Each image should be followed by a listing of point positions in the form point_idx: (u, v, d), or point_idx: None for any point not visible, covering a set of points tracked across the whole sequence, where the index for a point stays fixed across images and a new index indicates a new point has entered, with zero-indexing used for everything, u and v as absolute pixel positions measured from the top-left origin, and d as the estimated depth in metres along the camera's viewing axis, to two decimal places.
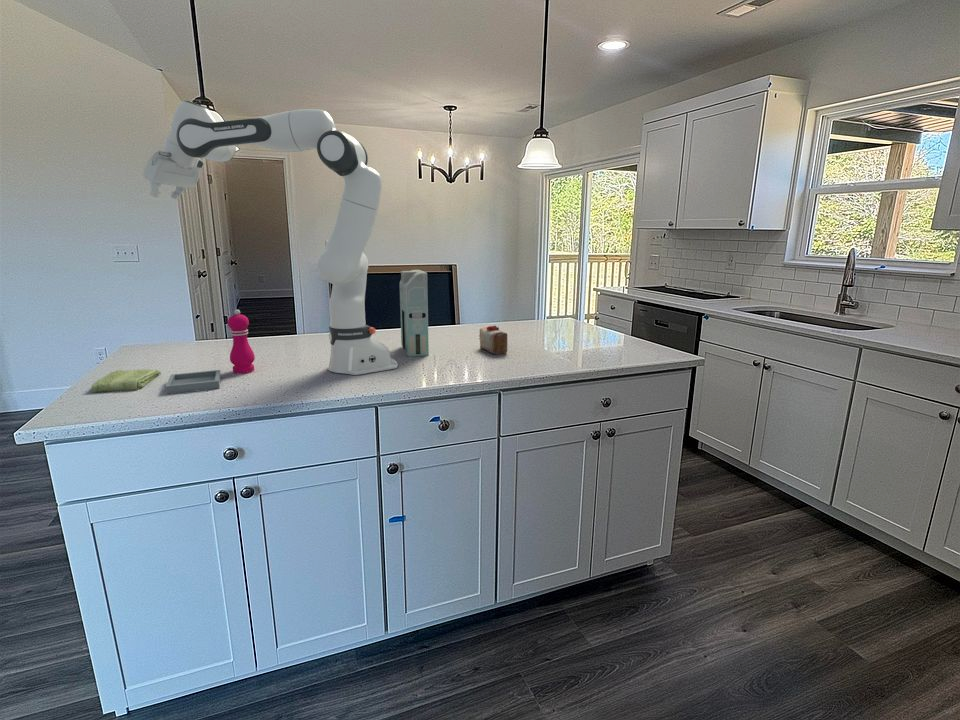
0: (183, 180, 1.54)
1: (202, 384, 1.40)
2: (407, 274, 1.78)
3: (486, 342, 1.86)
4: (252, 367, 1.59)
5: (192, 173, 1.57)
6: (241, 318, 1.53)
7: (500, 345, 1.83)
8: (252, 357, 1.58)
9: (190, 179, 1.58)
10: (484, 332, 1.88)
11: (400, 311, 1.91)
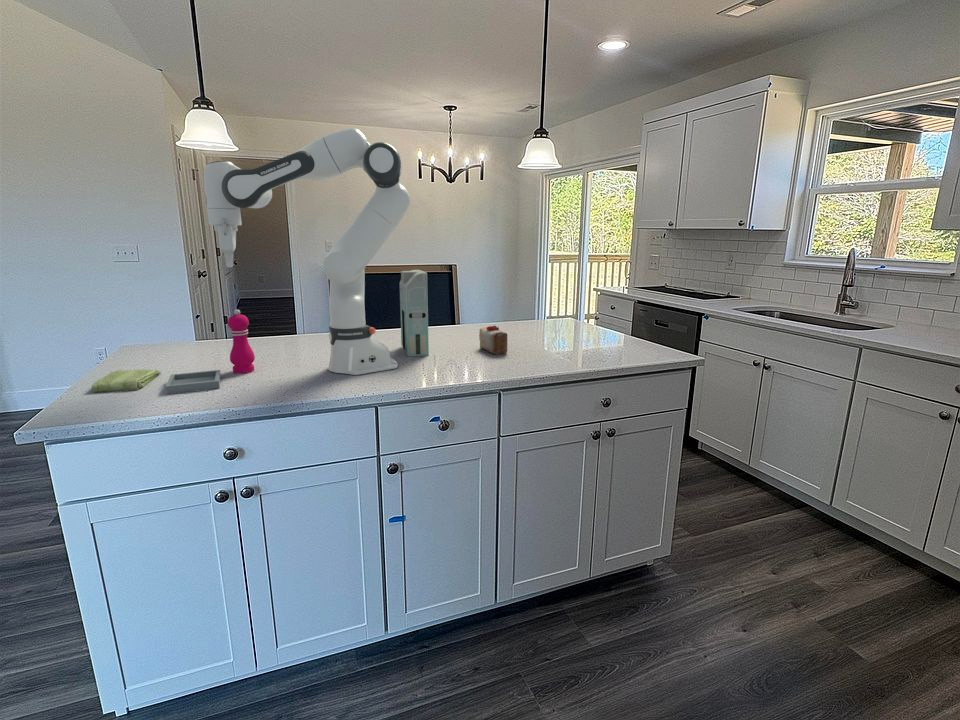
0: (234, 242, 1.53)
1: (202, 384, 1.40)
2: (407, 274, 1.78)
3: (486, 342, 1.86)
4: (252, 367, 1.59)
5: (232, 234, 1.55)
6: (241, 318, 1.53)
7: (500, 345, 1.83)
8: (252, 357, 1.58)
9: (234, 240, 1.55)
10: (484, 332, 1.88)
11: (400, 311, 1.91)
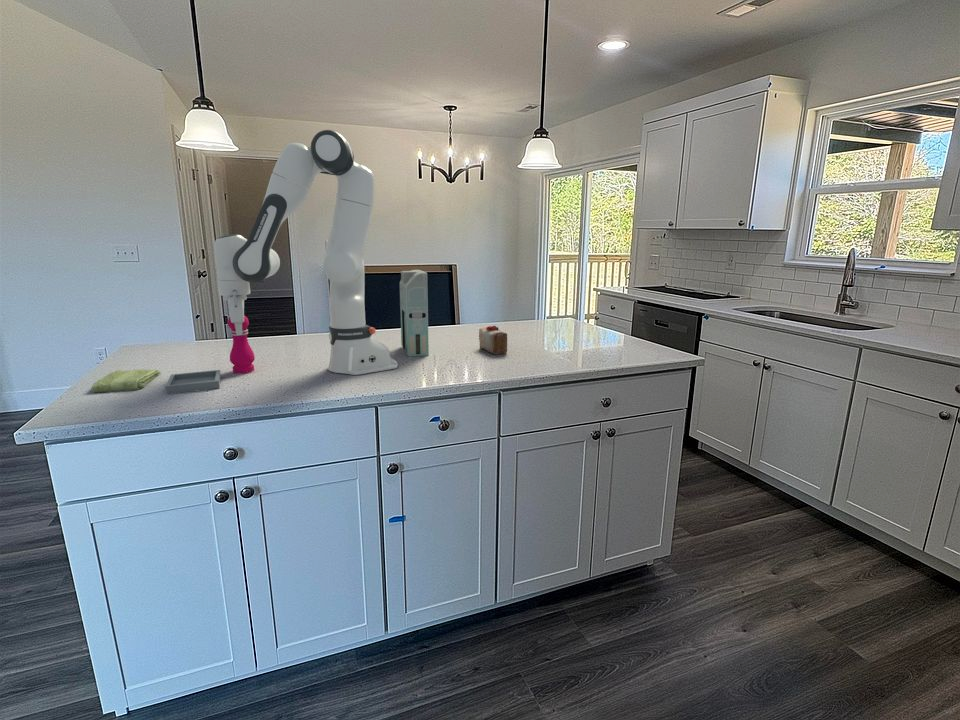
0: (243, 309, 1.58)
1: (202, 384, 1.40)
2: (407, 274, 1.78)
3: (486, 342, 1.86)
4: (252, 367, 1.59)
5: None
6: None
7: (500, 345, 1.83)
8: (252, 357, 1.58)
9: None
10: (484, 332, 1.88)
11: (400, 311, 1.91)
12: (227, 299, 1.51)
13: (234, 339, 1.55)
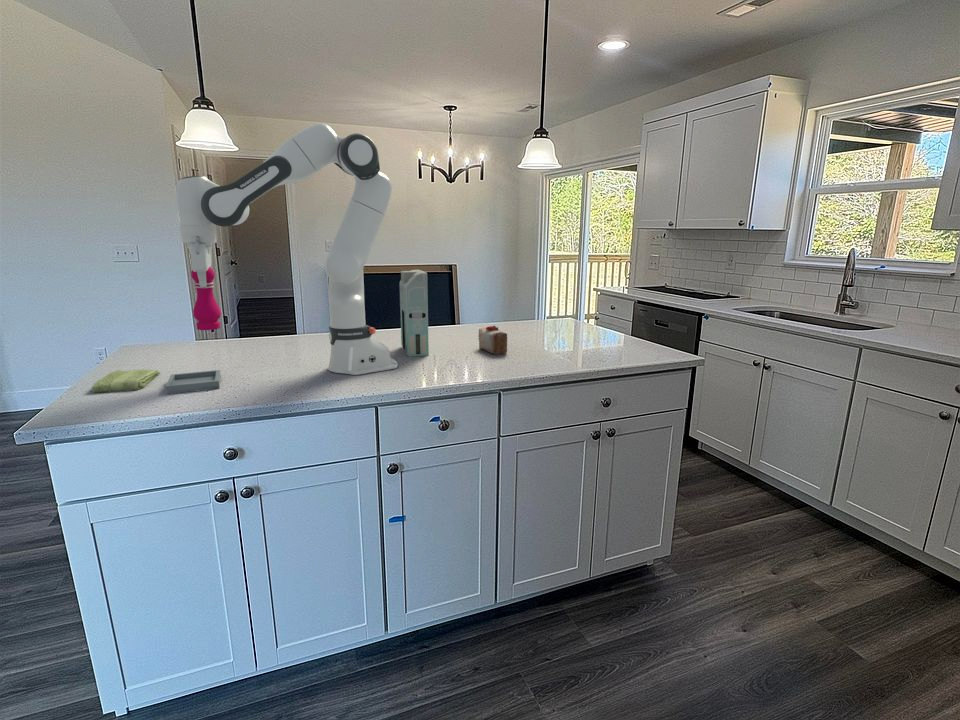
0: (209, 260, 1.45)
1: (202, 384, 1.40)
2: (407, 274, 1.78)
3: (486, 342, 1.86)
4: (218, 324, 1.46)
5: (208, 251, 1.48)
6: None
7: (500, 346, 1.83)
8: (218, 313, 1.45)
9: (209, 257, 1.48)
10: (483, 332, 1.88)
11: (400, 311, 1.91)
12: (190, 247, 1.38)
13: (198, 292, 1.43)
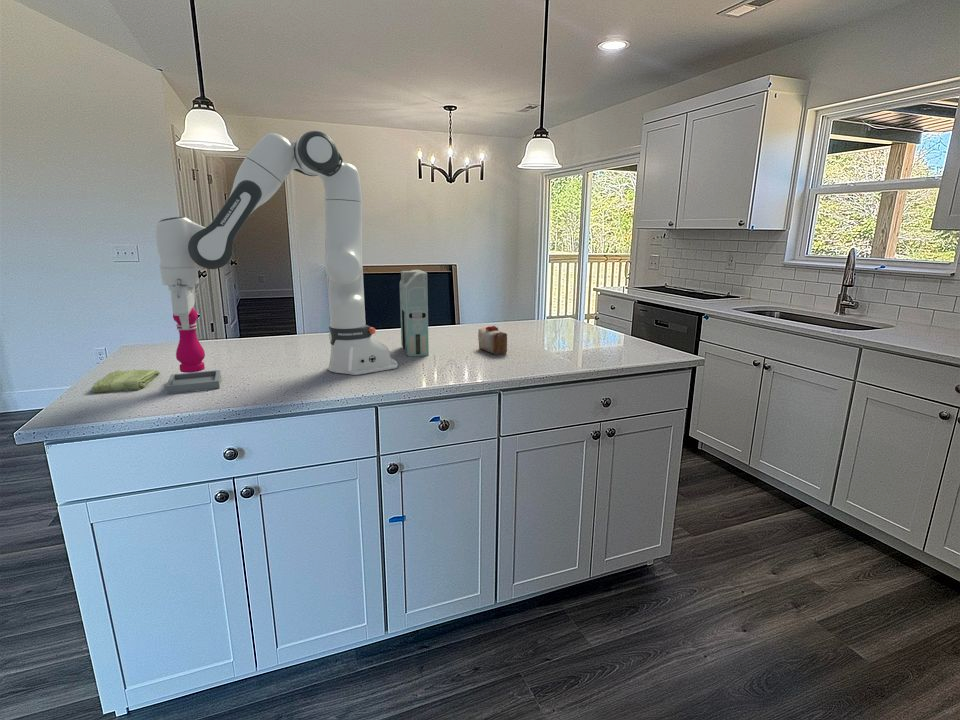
0: (191, 300, 1.42)
1: (202, 384, 1.40)
2: (407, 274, 1.78)
3: (486, 342, 1.86)
4: (201, 365, 1.43)
5: (190, 290, 1.44)
6: None
7: (500, 346, 1.83)
8: (201, 354, 1.42)
9: (192, 297, 1.45)
10: (483, 332, 1.87)
11: (400, 311, 1.91)
12: None
13: (180, 334, 1.39)
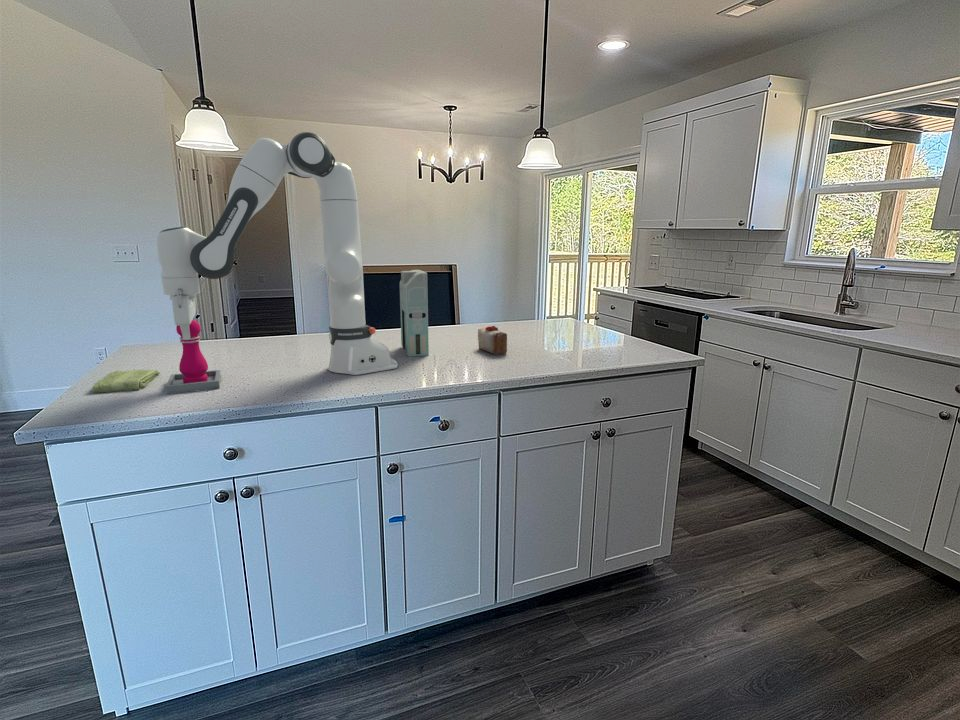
0: (193, 309, 1.42)
1: (202, 384, 1.40)
2: (407, 274, 1.78)
3: (486, 342, 1.85)
4: (205, 378, 1.44)
5: (192, 299, 1.45)
6: (191, 323, 1.39)
7: (500, 346, 1.83)
8: (204, 367, 1.43)
9: (193, 306, 1.45)
10: (483, 332, 1.87)
11: (400, 311, 1.91)
12: None
13: (184, 347, 1.40)
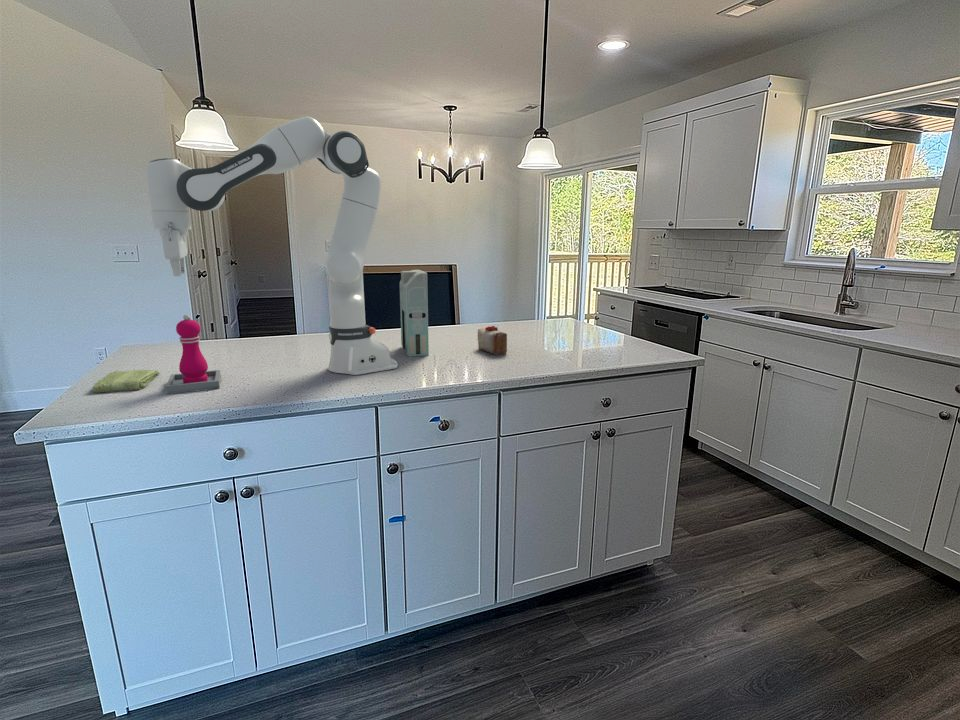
0: (184, 248, 1.38)
1: (202, 384, 1.40)
2: (407, 274, 1.78)
3: (485, 342, 1.85)
4: (205, 378, 1.44)
5: (183, 239, 1.41)
6: (191, 324, 1.39)
7: (500, 346, 1.83)
8: (204, 367, 1.43)
9: (185, 245, 1.41)
10: (483, 333, 1.87)
11: (400, 311, 1.91)
12: None
13: (184, 347, 1.40)
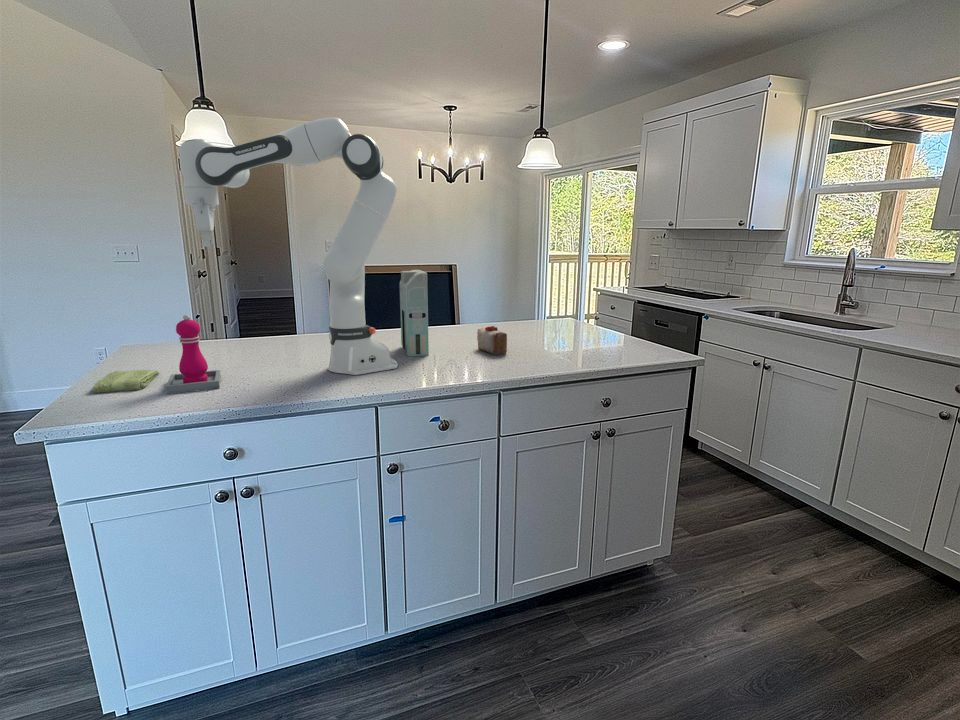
0: None
1: (202, 384, 1.40)
2: (407, 274, 1.78)
3: (485, 342, 1.85)
4: (205, 378, 1.44)
5: (210, 214, 1.55)
6: (190, 324, 1.39)
7: (499, 346, 1.83)
8: (204, 367, 1.43)
9: (212, 220, 1.55)
10: (483, 333, 1.87)
11: (400, 311, 1.91)
12: (194, 208, 1.45)
13: (183, 347, 1.40)
